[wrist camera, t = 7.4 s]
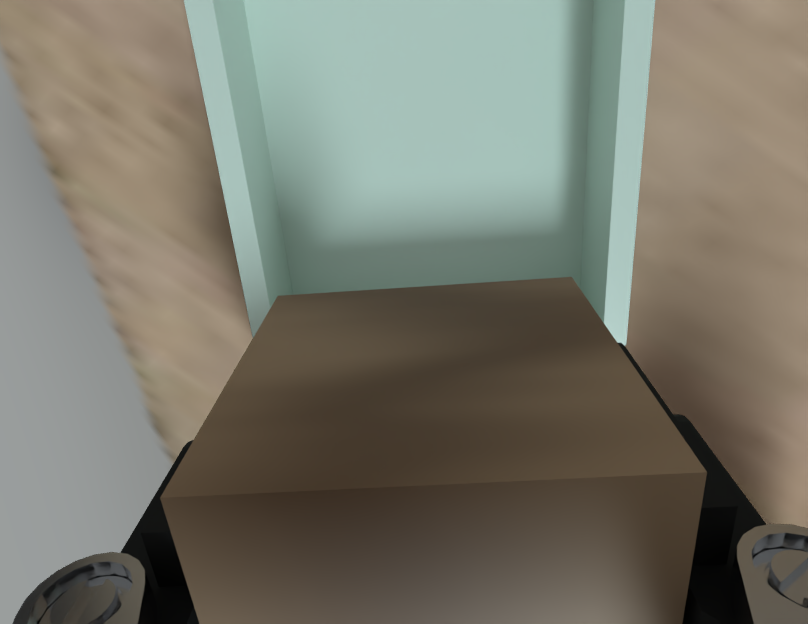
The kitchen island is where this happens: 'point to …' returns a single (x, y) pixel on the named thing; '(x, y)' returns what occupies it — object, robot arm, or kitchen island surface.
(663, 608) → the tan cube
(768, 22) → the kitchen island surface
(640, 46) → the tote
